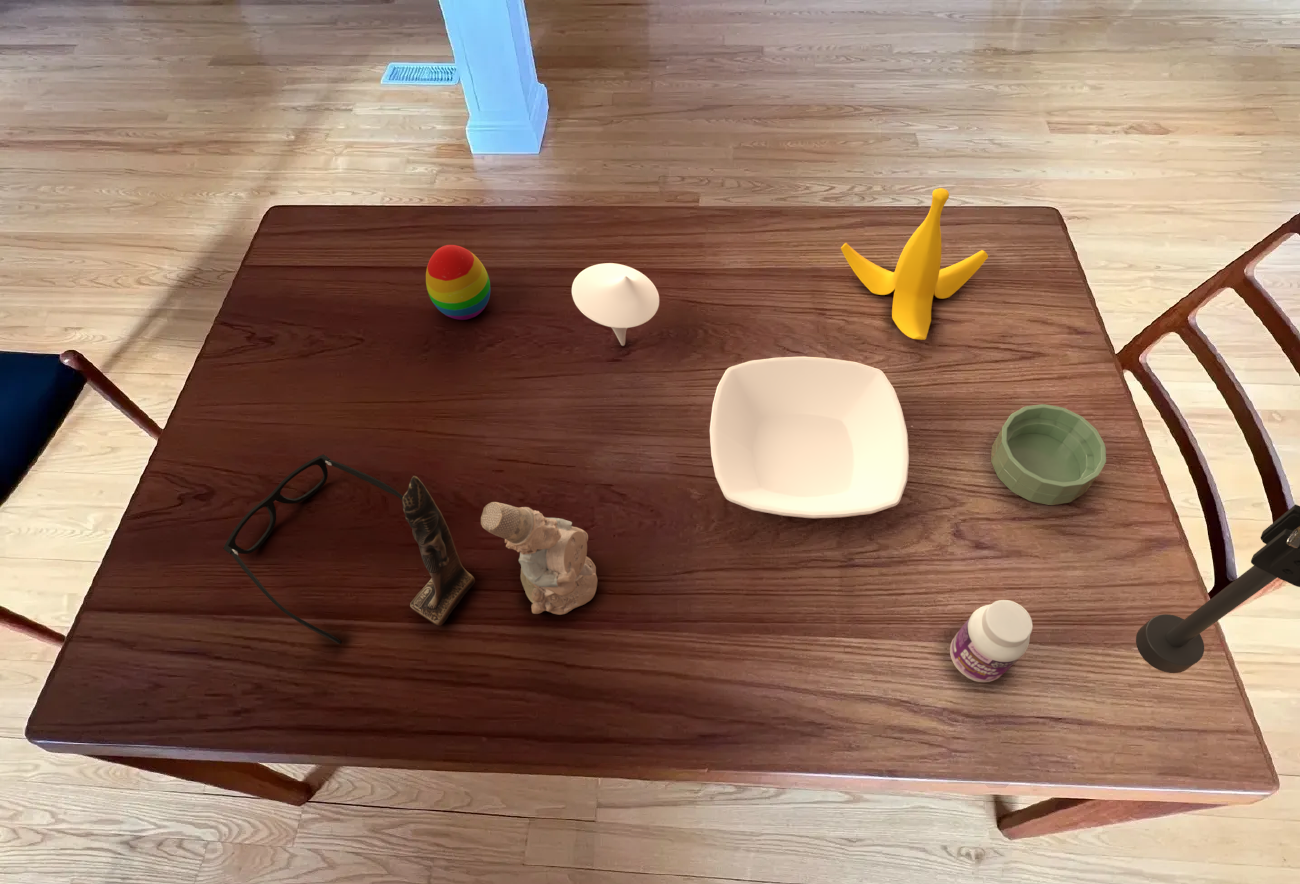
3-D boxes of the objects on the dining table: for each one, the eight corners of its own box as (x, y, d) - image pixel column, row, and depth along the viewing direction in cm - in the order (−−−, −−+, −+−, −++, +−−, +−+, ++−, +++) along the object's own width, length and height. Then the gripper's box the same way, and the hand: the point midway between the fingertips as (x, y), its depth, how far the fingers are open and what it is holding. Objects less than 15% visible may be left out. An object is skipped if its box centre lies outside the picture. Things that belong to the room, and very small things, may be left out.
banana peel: (837, 260, 109) (857, 156, 96) (980, 268, 107) (1021, 162, 93) (836, 351, 100) (858, 250, 86) (992, 361, 98) (1040, 260, 84)
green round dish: (1103, 457, 89) (1121, 434, 86) (1066, 524, 85) (1083, 503, 81) (1013, 413, 93) (1026, 389, 90) (973, 474, 89) (985, 452, 85)
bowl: (909, 543, 85) (920, 519, 80) (707, 536, 86) (707, 513, 82) (888, 384, 97) (897, 356, 92) (711, 381, 99) (711, 354, 94)
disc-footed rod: (1199, 642, 67) (1382, 513, 49) (1182, 684, 65) (1366, 565, 47) (1146, 613, 68) (1303, 477, 50) (1127, 652, 67) (1284, 526, 48)
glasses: (339, 465, 95) (321, 440, 91) (444, 533, 88) (430, 510, 84) (229, 570, 88) (205, 549, 84) (334, 653, 81) (313, 635, 77)
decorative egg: (502, 286, 110) (486, 230, 102) (486, 330, 105) (468, 274, 97) (446, 282, 111) (425, 226, 103) (428, 325, 107) (405, 270, 98)
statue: (411, 611, 83) (339, 520, 67) (453, 558, 87) (395, 459, 70) (441, 630, 82) (376, 542, 65) (483, 575, 85) (431, 478, 69)
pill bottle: (946, 675, 77) (974, 640, 69) (951, 624, 79) (979, 585, 71) (1004, 691, 76) (1040, 657, 68) (1007, 639, 78) (1042, 600, 70)
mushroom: (658, 310, 106) (654, 241, 96) (665, 373, 100) (661, 306, 90) (581, 317, 106) (569, 249, 96) (583, 380, 100) (570, 314, 90)
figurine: (509, 616, 82) (461, 525, 66) (529, 544, 87) (489, 442, 71) (592, 628, 81) (564, 539, 65) (608, 554, 86) (586, 453, 69)
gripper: (1585, 548, 33) (1311, 686, 48) (1622, 324, 40) (1370, 508, 55) (1381, 460, 36) (1182, 617, 51) (1447, 266, 43) (1253, 455, 58)
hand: (1281, 559), depth 53 cm, fingers closed on disc-footed rod, 1 cm apart
